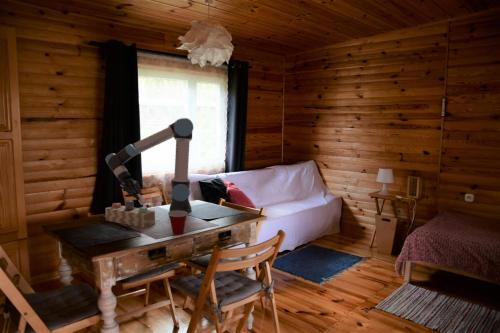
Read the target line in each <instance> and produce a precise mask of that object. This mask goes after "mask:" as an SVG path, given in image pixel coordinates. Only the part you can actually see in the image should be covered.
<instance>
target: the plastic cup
mask: <svg viewBox="0 0 500 333" xmlns="http://www.w3.org/2000/svg"><path fill="white" fill-rule="evenodd" d="M188 213H189V212H185V211H171V212H167V215H168V217H169V221H170V227H171V231H172V234H173V235H174V236H181V235H183V234H184V232H185V225H186V220H187V216H188Z"/></svg>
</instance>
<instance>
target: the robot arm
mask: <svg viewBox="0 0 500 333" xmlns="http://www.w3.org/2000/svg"><path fill="white" fill-rule="evenodd" d="M193 131H194V124H193V122H192V120H191V119H190V118H187V117H180V118H178V119H177V120H175V121H174V122H172V123H171V124H169V125H168V127H165V128H163V129H162V130H160V131H158V132H156V133H155V132H154V133H153V134H151V135H149V136H147V137H145V138H142V139H140V140H138V141H136V142H135V143H129V144H128V145H125V147H124V148H123V149H121V150H120V151H119V152H117V153H113V152H112V153H110V154H107V156H106V157H105V162H106V164H107V166H108V167H109V169H110V170H111V171H112V173H113V174H114V175H115V177H116V178H117V180H118V181H119V183H120V185H119V187H120V188H122V189H123V190H124V191H125V193H126V194H128V195H129V196H130V197H133V198H135V199H136V201H138V202H139V204H140V205H141V206H142V205H143V206H144V204H145V203H146V201H145V200H144V197H143V196H142V192H143V191H142V189H141V186H140V185H139V181H138V180H137V179H136V180H134V178H132V175H131V174H130V172H129V171H128V169H127V168H126V166H125V165H124V164H125V163H127V162H128V161H129V160H131V159H132V158H133V157H135V156H137V155H139V154H141V153H143V152H145V151H148V150H149V149H152V148H154V147H156V146H158V145H160V144H162V143H164V142H166V141H169V140H171V139H174V140H175V156H174V157H175V158H174V160H175V161H174V176H173V178H171V179H170V194H171V196H170V197H171V201H170V206H169V208H168V209H169V212H171V211H185V212H187V213H190V212H192V206H191V203H190V200H189V198H190V194H191V190H190V187H191V186H190V184H191V183H190V182H191V181H190V179H189V178H188V177H189V163H190V162H189V160H190V142H191V141H192V140H193ZM169 212H168V213H169Z"/></svg>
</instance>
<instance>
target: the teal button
mask: <svg viewBox="0 0 500 333" xmlns="http://www.w3.org/2000/svg"><path fill="white" fill-rule="evenodd" d="M138 208H139V213H146V212H148V210H149V209H148V207H146V206H141V207H138Z"/></svg>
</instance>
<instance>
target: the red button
mask: <svg viewBox="0 0 500 333" xmlns="http://www.w3.org/2000/svg"><path fill="white" fill-rule="evenodd" d="M121 206H122V203H121V202H115V203H112V206H111V207H112V208H114V209H117V208H121Z"/></svg>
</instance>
